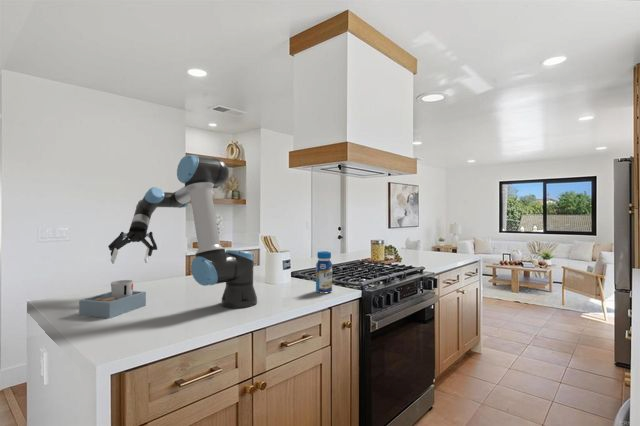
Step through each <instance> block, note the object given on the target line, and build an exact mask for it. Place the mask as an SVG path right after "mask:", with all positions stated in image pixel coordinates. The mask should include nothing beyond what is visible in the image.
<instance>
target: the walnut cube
mask: <svg viewBox="0 0 640 426" xmlns="http://www.w3.org/2000/svg"><path fill="white" fill-rule="evenodd" d="M114 300H115V298H114V297H101V298H98V299H94V301H106V302H111V301H114Z"/></svg>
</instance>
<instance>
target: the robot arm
mask: <svg viewBox="0 0 640 426" xmlns="http://www.w3.org/2000/svg"><path fill="white" fill-rule="evenodd" d="M229 176H230V171H229V167H228V166H227V164H226V163H225V162H224V161H223V160H222V159H220V158H216V157H215V158H213V157H207V156H200V155H196V154H195V155H194V154H193V155H191V154H188V155H184V156H183V157H182V158H181V159H180V160H179V162H178V165H177V169H176V178H177V180H178V181H179V182H180V183H181V184H184V186H182V187H181V188H179V189H177V190H176V191H175V192H170V191H169V192H167V191H164V190H162V189H161V188H158V187H155V186H154V187H150V188H149V189H148V190H147V191H146V193H145V194H144V196H143V198H142V199H140V200H139V201H138V203H137V204H136V206H135V210H134V214H133V218H132V219H131V224H130V226H129V230H128V232H127V233H126V232H124V231H121V232H120V233H119V235H118V236H117V237H116V238H114V240H113V241H112V242H111V243H110V244H109V245H108V249H109V251H110V256H111V258H110V261H111V264H115V263H116V262H115V261H116V259H117V257H118V251H119V250H120V249H121V248H123V247H124V246H126V245H128V244H130V243H136V242H137V243H140V242H141V243H142V244H143V245H144V246H145V247H146V251H145V256H144V259H143V260H144V262H145V264H148V262H149V258H150V257H152V255H153V251H157V250H158V245H157V243H156V241H155V238H154V234H153V231H150V232H148V229H149V225H150V223H151V217H152V215H153V213H154V212H155V210H156V209H157V208H177V209H181V208H187V207H188V206H189V204H190V202H191V208H192V214H193V221H194V229H195V234H196V240H197V247H198V249H197V251H196V252H195V254H194V255H195V257H194V258H193V259H192V261H191V265H190V270H191V271H190V272H191V275H192V278H193V279H194V281H195V282H197V283H198V284H199V285H201V286H204V287H206V286H214V285H219V284H223V283H225V288H224V292H223V294H222V297H221V306H222V305H223V306H222V307H225V308H230V307H231V308H233V309H237V308H239V307H242V308H248V307H247V306H249V307H252V306H251V305H253V306H255V305H257V304H258V296H257V293H256V290H255V287H254V254H253V252H251V251H248V250H239V249H238V250H236V249H226V250H225V247H223V246H221V241H220V236H219V230H218V229H219V228H218V224H217V217H216V212H215V206H214V205H215V203H214V200H213V193H212V189H219V187H222V186H223V185H224V184H225V183H226V182H227V181H228V179H229ZM147 237H148V238H149V240H150V242H149V241H148V240H147V239H146V238H147ZM256 303H257V304H256ZM254 304H255V305H254Z"/></svg>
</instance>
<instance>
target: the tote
mask: <svg viewBox="0 0 640 426" xmlns="http://www.w3.org/2000/svg"><path fill="white" fill-rule="evenodd" d="M101 297H112V293H111V291H108V292H105V293H101V294H98V295H94V296H89V297H86V298H82V299H79V301H78V305H79V306H78V308H79V310H78V311H79V312H78V313H79V314H78V316H83V317H92V318H93V317H94V318H101V319H102V318H103V319H104V318H105V319H112V318H113V317H114V318H115V317H117V316H120V315H123V314H125V313H128V312H131V311H134V310H137V309H139V308H143V307H145V306H146V305H147V291H140V290H139V291H138V290H133V292H132V295H131V296H127V297H124V298H121V299H117V300H114V301H111V302H106V301H94V299H98V298H101Z"/></svg>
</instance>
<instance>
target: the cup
mask: <svg viewBox="0 0 640 426" xmlns="http://www.w3.org/2000/svg"><path fill="white" fill-rule="evenodd" d="M110 289H111V291H110V292H111V293H112V297H114V298H115V300H117V299H121V298H124V297H127V296H131V295H132V292H133V291H134V280H132V279H123V280H115V281H111V282H110Z"/></svg>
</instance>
